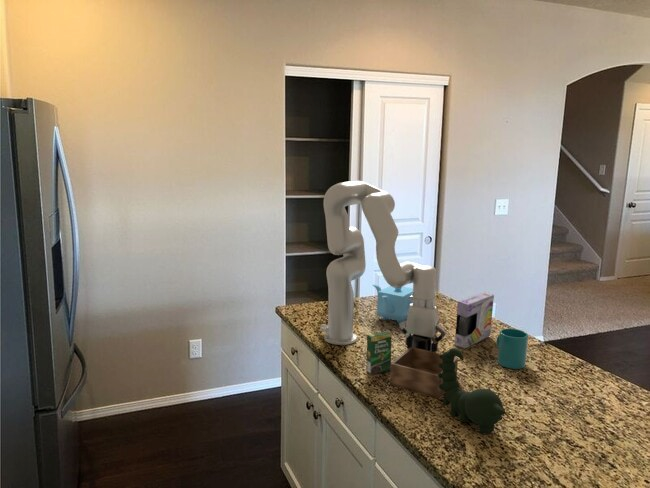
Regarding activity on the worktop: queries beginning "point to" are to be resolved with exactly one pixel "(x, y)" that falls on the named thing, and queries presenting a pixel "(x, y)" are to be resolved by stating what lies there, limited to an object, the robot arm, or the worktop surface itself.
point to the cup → (512, 348)
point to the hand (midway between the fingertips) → (421, 350)
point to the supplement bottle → (421, 342)
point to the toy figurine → (468, 397)
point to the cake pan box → (473, 319)
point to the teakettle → (393, 303)
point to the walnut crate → (418, 372)
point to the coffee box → (378, 352)
